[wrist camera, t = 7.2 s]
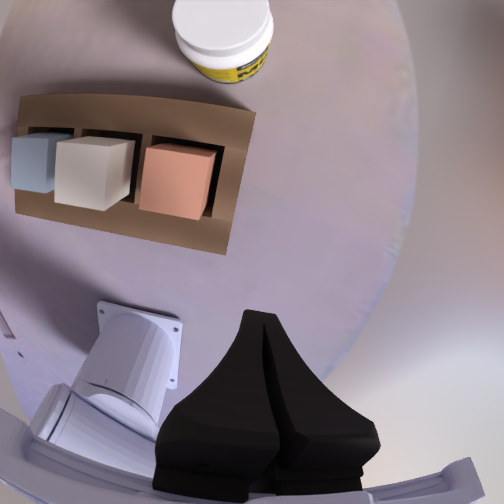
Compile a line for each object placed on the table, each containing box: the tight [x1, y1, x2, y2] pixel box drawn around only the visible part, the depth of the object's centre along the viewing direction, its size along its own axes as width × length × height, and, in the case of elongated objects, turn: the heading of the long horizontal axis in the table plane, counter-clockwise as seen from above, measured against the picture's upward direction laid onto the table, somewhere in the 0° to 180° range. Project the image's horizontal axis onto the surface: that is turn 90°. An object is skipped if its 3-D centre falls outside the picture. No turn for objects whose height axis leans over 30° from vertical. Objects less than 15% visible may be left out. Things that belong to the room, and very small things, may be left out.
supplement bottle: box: [172, 0, 274, 84], centre depth 13 cm, size 5×5×8 cm
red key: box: [139, 142, 217, 220], centre depth 17 cm, size 3×3×4 cm
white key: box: [54, 136, 135, 211], centre depth 15 cm, size 3×3×4 cm
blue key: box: [11, 132, 74, 193], centre depth 16 cm, size 3×3×4 cm
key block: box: [15, 94, 256, 255], centre depth 18 cm, size 9×17×3 cm, turn 78°
